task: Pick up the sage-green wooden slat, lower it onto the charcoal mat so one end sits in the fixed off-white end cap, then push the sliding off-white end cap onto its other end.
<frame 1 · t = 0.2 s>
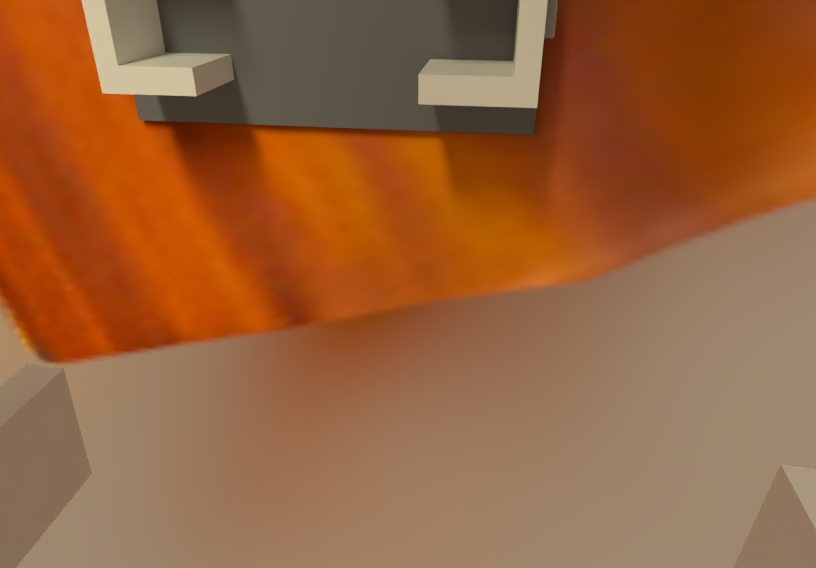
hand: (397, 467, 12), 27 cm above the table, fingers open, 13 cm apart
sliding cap: (490, 2, 30), point 3 cm above the table, slide at 0.0 cm
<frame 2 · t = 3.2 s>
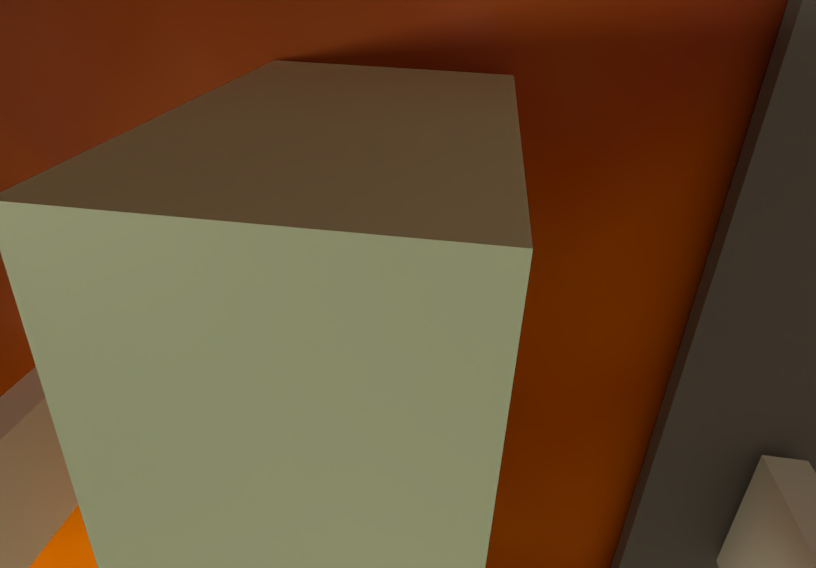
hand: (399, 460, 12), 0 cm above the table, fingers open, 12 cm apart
slat: (384, 430, 12), on the table
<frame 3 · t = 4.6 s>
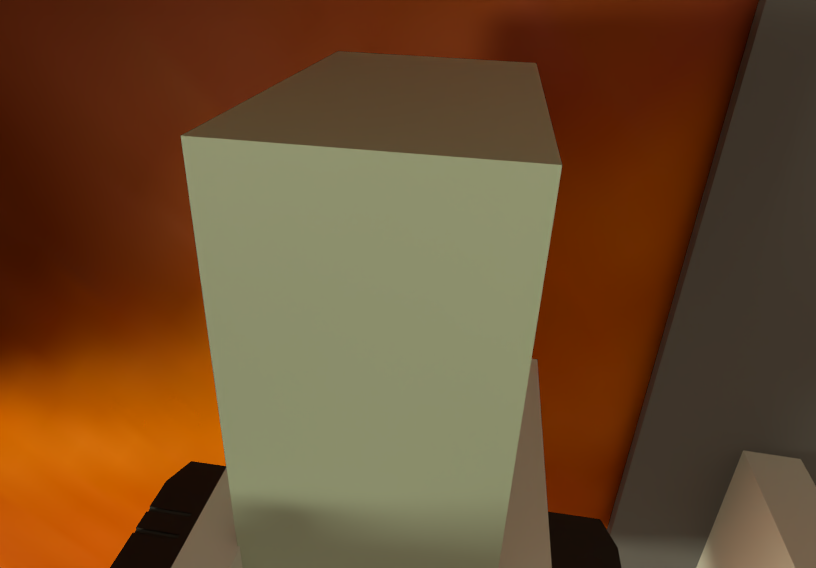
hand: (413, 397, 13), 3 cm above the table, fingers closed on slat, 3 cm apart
slat: (417, 379, 14), point 3 cm above the table, touching gripper
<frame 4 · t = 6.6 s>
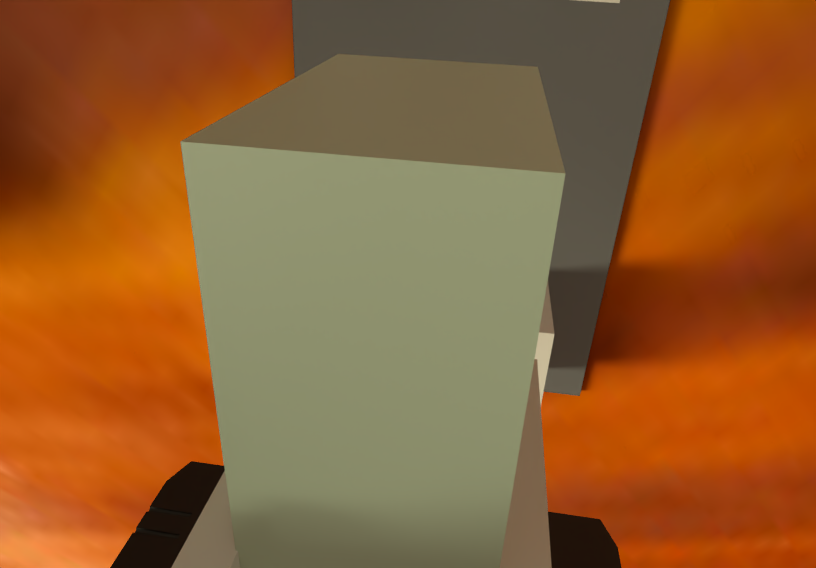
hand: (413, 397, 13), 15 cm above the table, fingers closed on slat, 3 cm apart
slat: (417, 383, 14), point 14 cm above the table, touching gripper
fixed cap: (443, 332, 30), resting on mat
mat: (461, 143, 26), on the table
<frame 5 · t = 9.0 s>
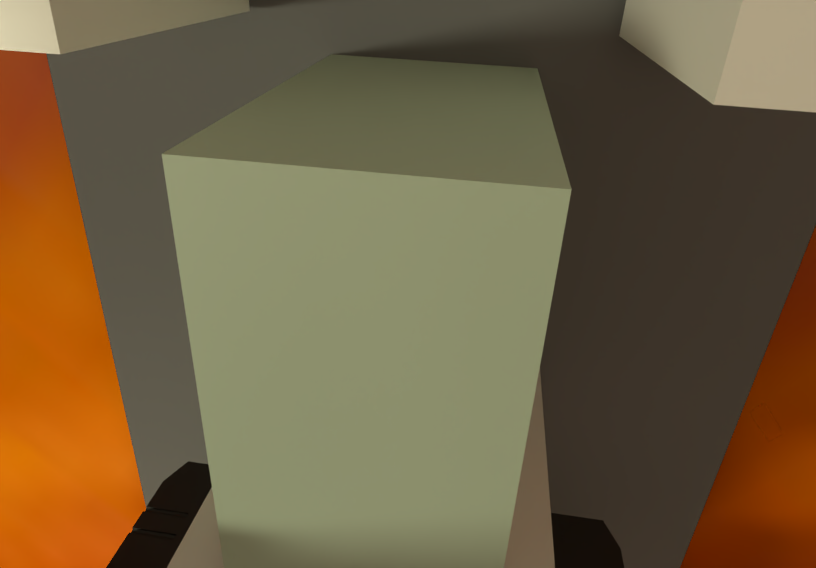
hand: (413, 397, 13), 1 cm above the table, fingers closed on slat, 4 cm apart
slat: (413, 390, 14), resting on mat, touching gripper
mat: (413, 319, 13), on the table
when the fingers open (1 cm above the table, at t = 9.0 s): slat stays where it is, resting on mat.
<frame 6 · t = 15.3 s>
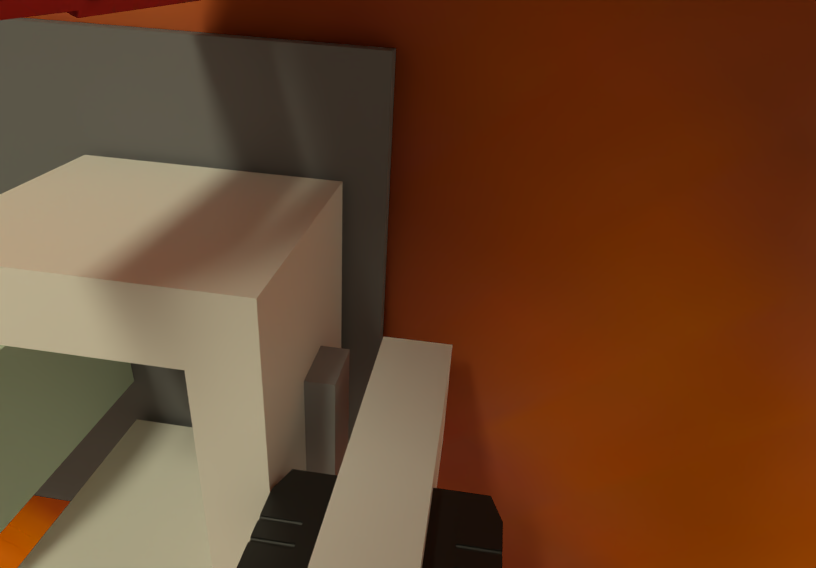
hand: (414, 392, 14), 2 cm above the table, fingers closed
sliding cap: (194, 407, 13), point 3 cm above the table, slide at 0.6 cm, touching gripper
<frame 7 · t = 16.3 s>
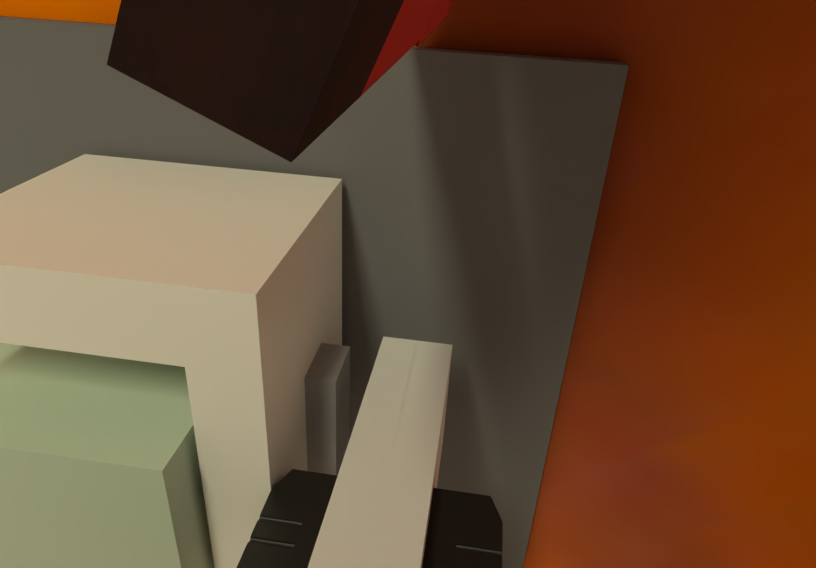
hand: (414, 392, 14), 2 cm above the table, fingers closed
slat: (29, 313, 16), resting on mat
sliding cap: (195, 405, 13), point 3 cm above the table, slide at 5.0 cm, touching gripper
mat: (95, 308, 16), on the table
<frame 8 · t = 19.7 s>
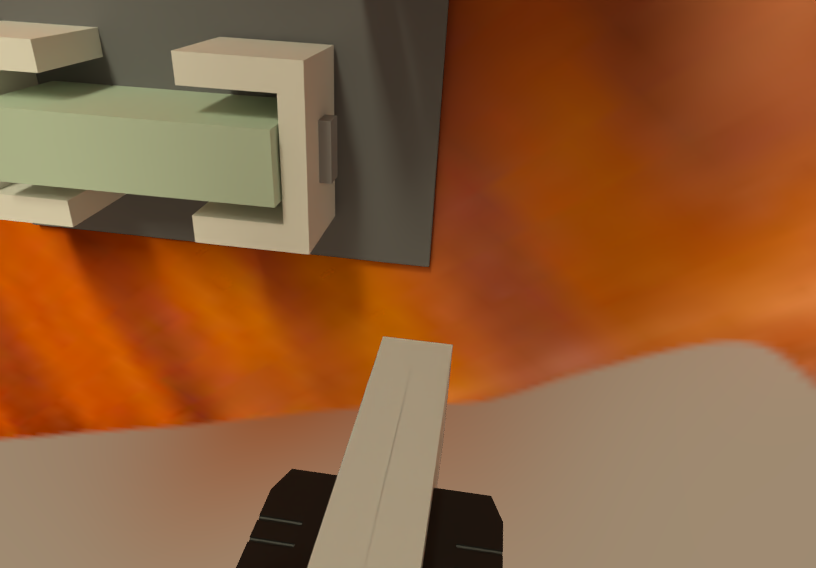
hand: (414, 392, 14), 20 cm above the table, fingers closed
slat: (182, 124, 33), resting on mat
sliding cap: (270, 144, 30), point 3 cm above the table, slide at 5.0 cm
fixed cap: (49, 108, 34), resting on mat
mat: (214, 122, 33), on the table
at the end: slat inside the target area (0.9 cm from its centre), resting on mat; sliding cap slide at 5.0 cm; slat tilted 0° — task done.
